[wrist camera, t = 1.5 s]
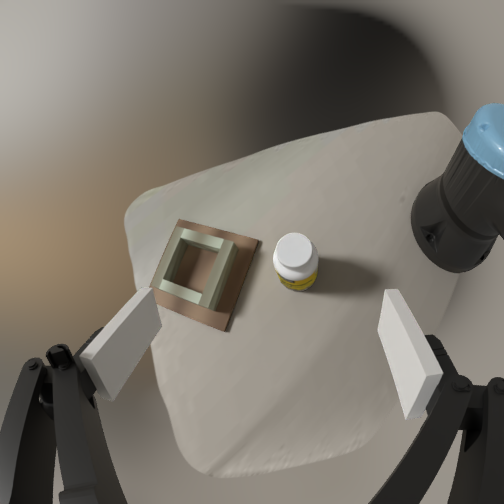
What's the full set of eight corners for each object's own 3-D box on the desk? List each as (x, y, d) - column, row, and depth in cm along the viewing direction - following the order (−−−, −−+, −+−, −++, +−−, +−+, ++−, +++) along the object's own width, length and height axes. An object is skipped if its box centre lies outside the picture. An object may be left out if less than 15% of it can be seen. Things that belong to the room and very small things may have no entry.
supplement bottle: (276, 290, 40) (265, 270, 31) (281, 253, 41) (272, 224, 32) (315, 294, 38) (317, 274, 29) (319, 256, 40) (320, 227, 31)
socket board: (258, 241, 43) (254, 231, 39) (225, 331, 39) (216, 329, 36) (180, 220, 47) (170, 210, 44) (146, 299, 43) (134, 294, 40)
